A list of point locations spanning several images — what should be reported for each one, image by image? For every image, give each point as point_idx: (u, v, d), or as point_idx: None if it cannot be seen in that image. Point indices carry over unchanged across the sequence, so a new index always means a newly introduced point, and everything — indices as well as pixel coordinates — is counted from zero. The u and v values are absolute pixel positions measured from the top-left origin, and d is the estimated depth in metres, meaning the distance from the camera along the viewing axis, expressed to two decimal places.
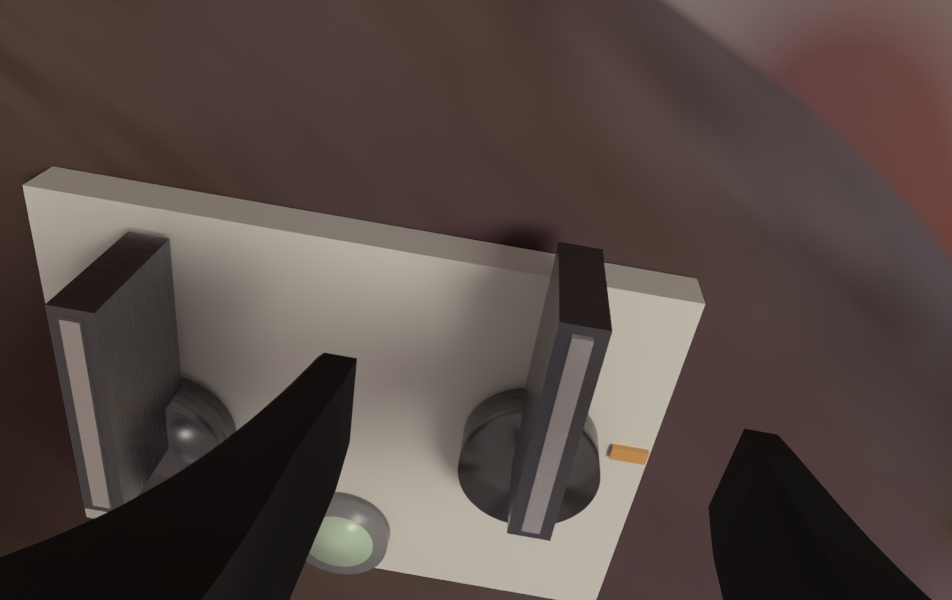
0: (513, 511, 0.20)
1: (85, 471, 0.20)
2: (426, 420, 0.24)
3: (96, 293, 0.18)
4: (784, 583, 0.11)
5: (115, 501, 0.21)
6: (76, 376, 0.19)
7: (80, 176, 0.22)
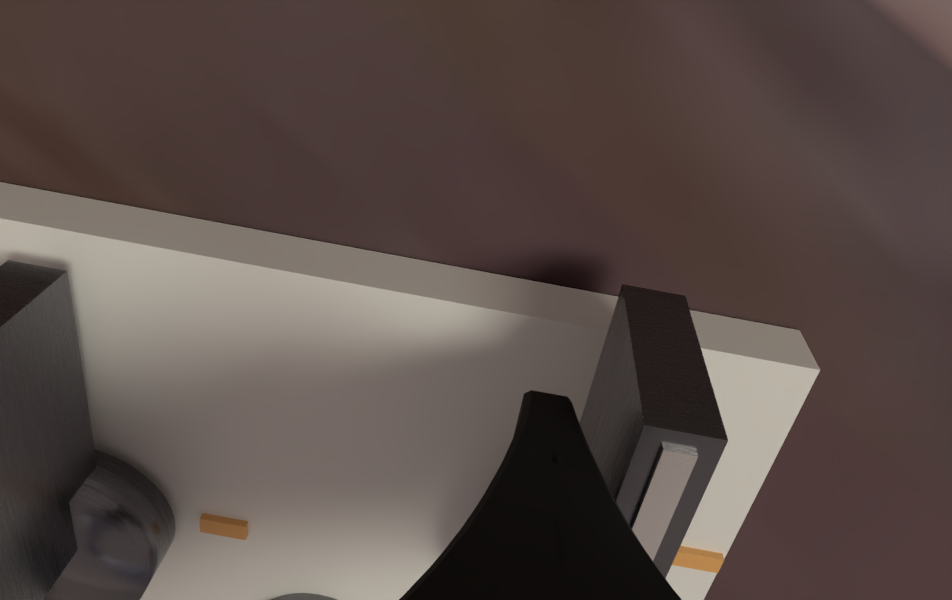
0: None
1: None
2: (426, 510, 0.18)
3: None
4: None
5: None
6: None
7: None
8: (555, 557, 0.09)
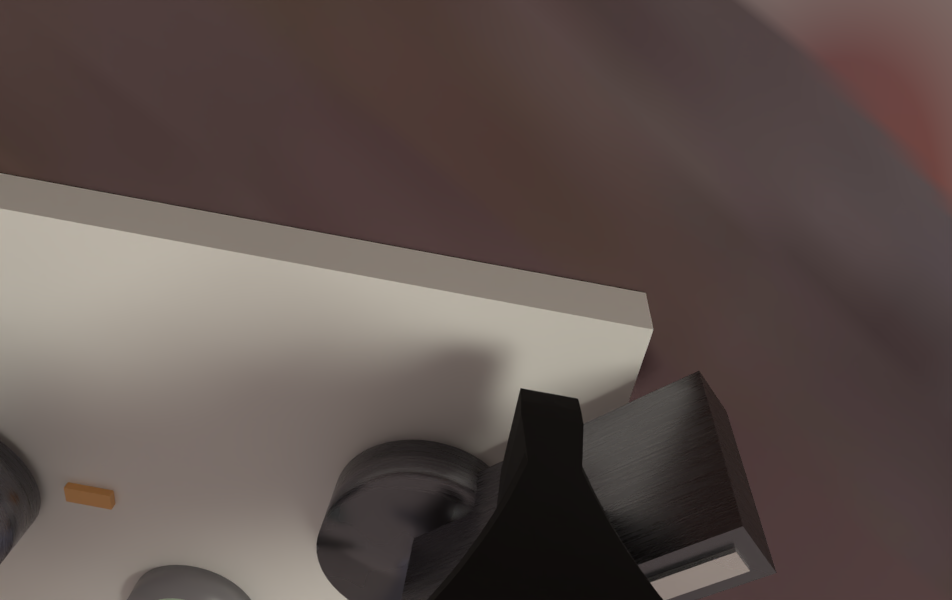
0: None
1: None
2: (287, 478, 0.18)
3: None
4: None
5: None
6: None
7: None
8: (534, 553, 0.09)
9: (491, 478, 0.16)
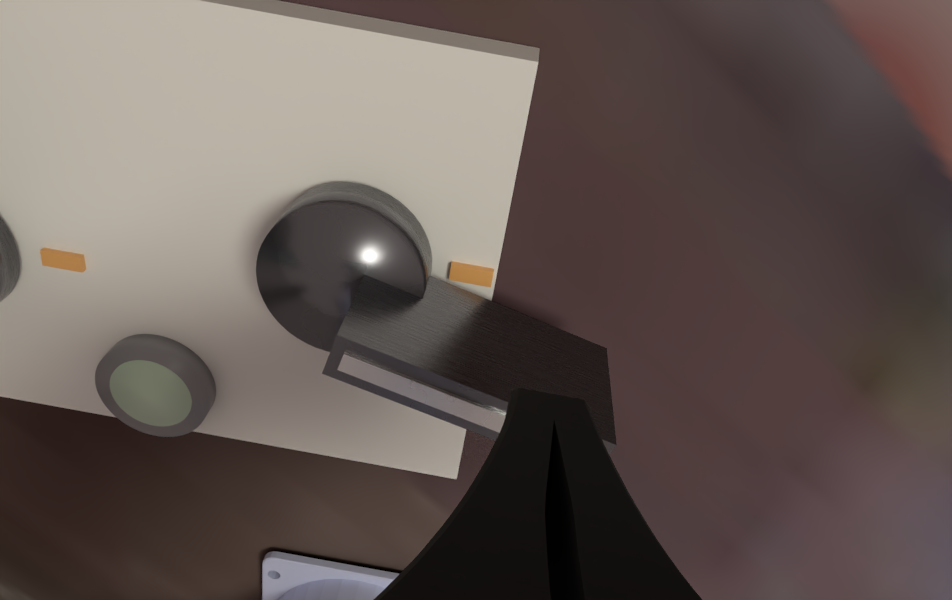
0: (372, 350, 0.17)
1: None
2: (235, 234, 0.21)
3: None
4: (553, 541, 0.11)
5: None
6: None
7: None
8: (578, 561, 0.09)
9: (440, 288, 0.20)
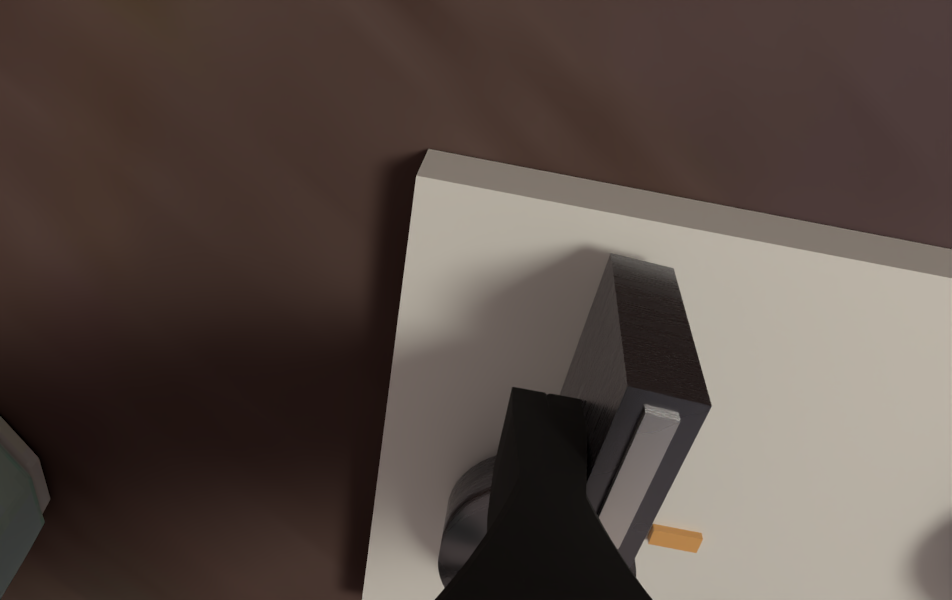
0: None
1: None
2: (915, 524, 0.17)
3: (677, 364, 0.11)
4: None
5: None
6: (613, 497, 0.11)
7: (476, 163, 0.15)
8: (522, 551, 0.09)
9: None
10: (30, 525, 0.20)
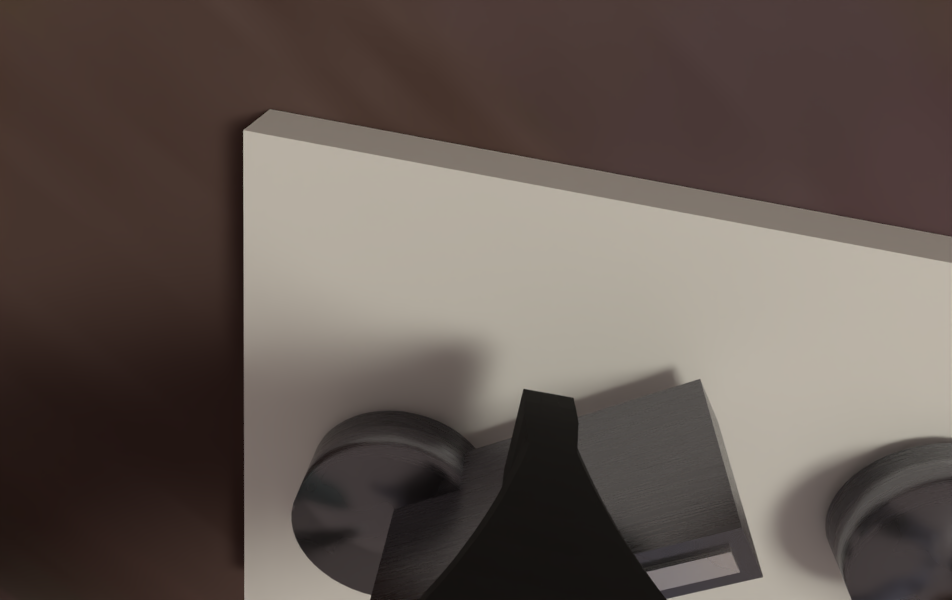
0: None
1: None
2: (772, 485, 0.17)
3: (745, 523, 0.13)
4: None
5: None
6: None
7: (314, 122, 0.15)
8: (538, 554, 0.09)
9: None
10: None
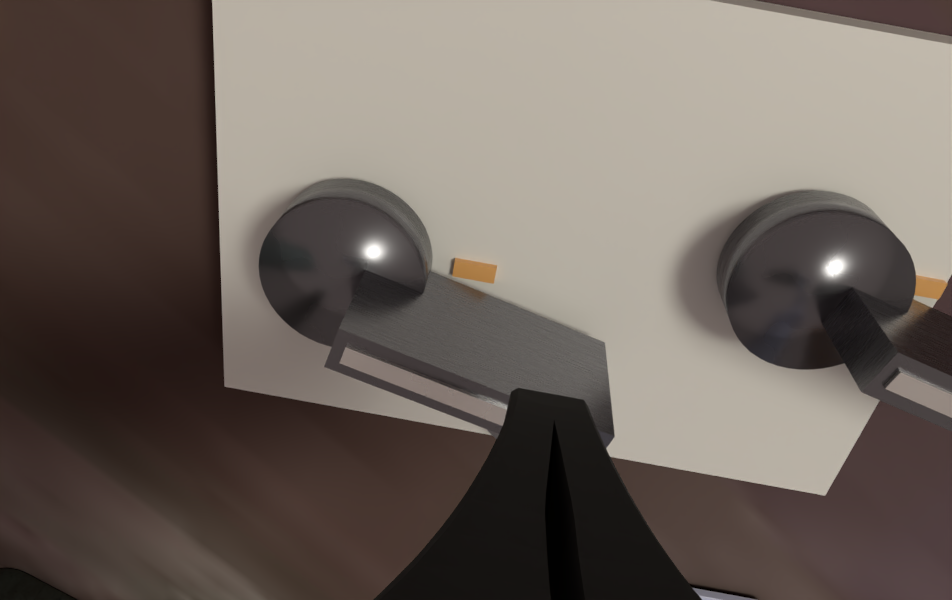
0: (931, 368, 0.16)
1: (398, 360, 0.17)
2: (670, 244, 0.20)
3: None
4: (553, 541, 0.11)
5: (347, 367, 0.17)
6: None
7: None
8: (579, 561, 0.09)
9: None
10: None
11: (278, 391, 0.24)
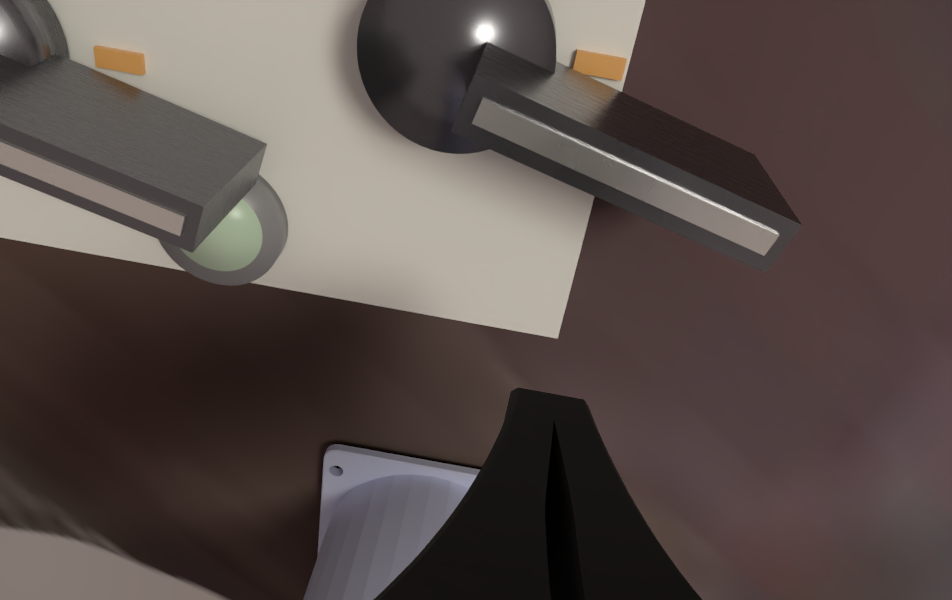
0: (517, 95, 0.14)
1: None
2: (323, 21, 0.18)
3: (210, 222, 0.17)
4: (552, 541, 0.11)
5: None
6: (102, 186, 0.15)
7: None
8: (578, 561, 0.09)
9: (569, 71, 0.17)
10: None
11: None
